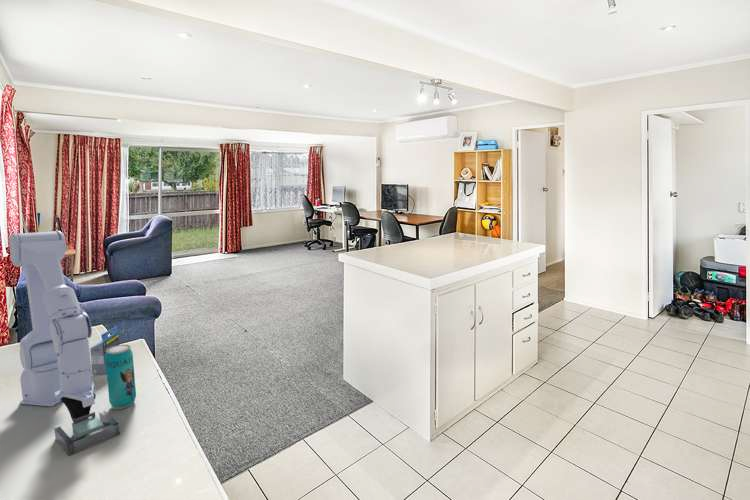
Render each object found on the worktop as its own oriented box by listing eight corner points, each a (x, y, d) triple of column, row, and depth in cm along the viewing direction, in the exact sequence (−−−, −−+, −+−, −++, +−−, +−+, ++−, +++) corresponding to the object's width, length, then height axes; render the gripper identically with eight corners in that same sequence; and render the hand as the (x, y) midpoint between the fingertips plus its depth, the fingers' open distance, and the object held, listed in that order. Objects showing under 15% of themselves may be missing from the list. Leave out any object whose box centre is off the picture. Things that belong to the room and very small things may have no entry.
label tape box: (108, 362, 127) (104, 325, 125) (121, 362, 127) (118, 324, 125) (91, 375, 118) (87, 335, 116) (106, 374, 118) (102, 334, 117)
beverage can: (124, 411, 99) (118, 353, 96) (104, 409, 100) (98, 351, 98) (141, 400, 104) (137, 345, 102) (122, 397, 105) (118, 343, 103)
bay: (55, 439, 88) (54, 428, 87) (105, 419, 95) (104, 410, 95) (68, 455, 82) (67, 444, 82) (120, 434, 90) (119, 423, 89)
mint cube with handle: (73, 436, 89) (71, 419, 88) (97, 427, 92) (95, 410, 92) (80, 446, 85) (78, 428, 85) (104, 436, 89) (103, 419, 88)
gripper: (43, 365, 90) (49, 421, 92) (63, 385, 82) (70, 446, 84) (80, 355, 96) (85, 408, 98) (103, 372, 87) (108, 430, 89)
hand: (81, 425), depth 91 cm, fingers closed
